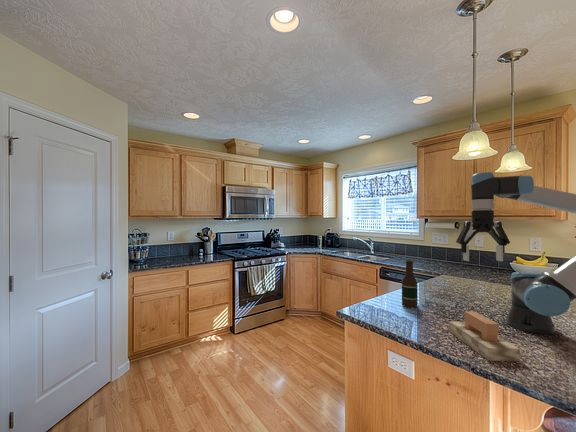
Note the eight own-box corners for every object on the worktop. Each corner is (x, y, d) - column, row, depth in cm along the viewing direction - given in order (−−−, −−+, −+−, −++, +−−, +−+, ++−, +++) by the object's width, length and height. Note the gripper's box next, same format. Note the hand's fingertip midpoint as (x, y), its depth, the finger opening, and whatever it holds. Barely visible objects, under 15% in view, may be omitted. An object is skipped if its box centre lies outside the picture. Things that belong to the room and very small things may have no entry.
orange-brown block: (464, 337, 101) (464, 311, 102) (475, 337, 101) (474, 311, 101) (486, 352, 90) (486, 323, 90) (498, 353, 89) (498, 323, 89)
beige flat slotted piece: (474, 331, 106) (474, 321, 106) (520, 361, 84) (519, 348, 84) (449, 331, 107) (449, 321, 107) (488, 360, 85) (488, 348, 85)
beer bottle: (403, 302, 143) (403, 259, 143) (419, 305, 138) (419, 260, 139) (399, 306, 137) (399, 260, 137) (415, 309, 132) (415, 262, 133)
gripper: (506, 210, 112) (506, 259, 112) (446, 210, 113) (447, 259, 113) (521, 209, 104) (521, 262, 104) (457, 209, 105) (457, 262, 105)
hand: (482, 260), depth 108 cm, fingers open, 13 cm apart
